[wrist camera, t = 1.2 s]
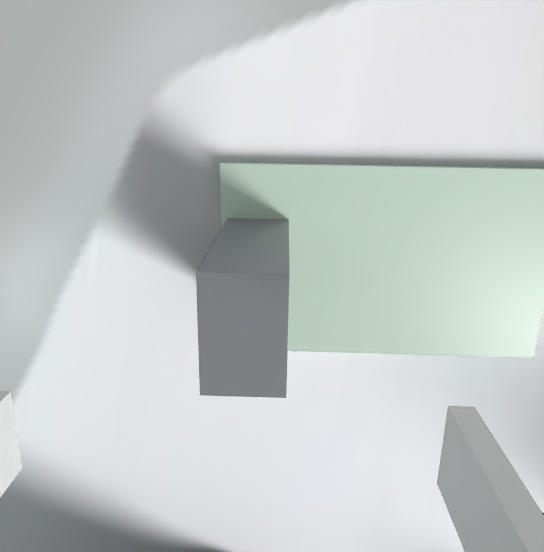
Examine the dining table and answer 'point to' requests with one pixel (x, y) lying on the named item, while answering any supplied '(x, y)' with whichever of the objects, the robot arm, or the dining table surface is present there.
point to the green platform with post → (367, 267)
